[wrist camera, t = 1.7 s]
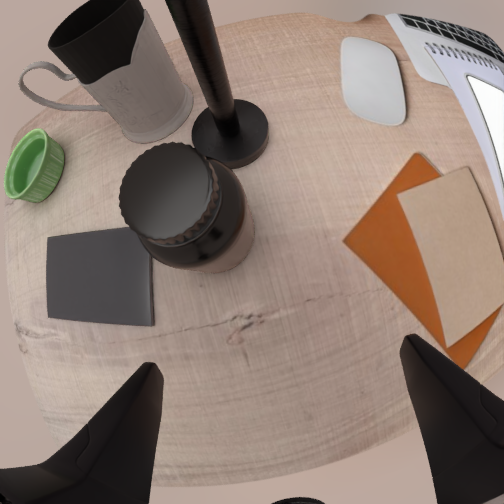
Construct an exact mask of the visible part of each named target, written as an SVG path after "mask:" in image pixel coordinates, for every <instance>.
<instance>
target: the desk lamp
mask: <svg viewBox="0 0 504 504" xmlns="http://www.w3.org/2000/svg"><path fill="white" fill-rule="evenodd" d="M165 1H166V4H167V6H168V9H169V11H170V13H171V16H172V18H173V21H174V23H175V25H176V28H177V30H178V32H179V35H180V37H181V40H182V42H183V45H184V47H185V50H186V52H187V55H188V57H189V59H190V62H191V64H192V67H193V69H194V72H195V74H196V77H197V79H198V82H199V84H200V87H201V89H202V92H203V94H204V97H205V99H206V102H207V104H208V108H206V109H205V110H204V111H203V112H202V113H201V114H200V115H199V116H198V117H197V119H196V121H195V122H194V125H193V128H192V141H193V144H194V147H195V148H196V149H198V150H199V151H200V153H202V154H204V155H205V156H208V157H212V158H214V159H217V160H219V161H220V162H222V163H224V164H225V165H226V166H228V167H229V168H230V169H234V168H239V167H243V166H245V165H248V164H250V163H251V162H253V161H254V160H256V159H257V158H258V157H259V156H260V155H261V154H262V153H263V151H264V150H265V148H266V146H267V143H268V139H269V130H268V122H267V118H266V116H265V114H264V113H263V111H262V110H261V109H260V108H259V107H257V106H256V105H254V104H253V103H251V102H248V101H245V100H239V99H233V96H232V92H231V88H230V84H229V80H228V76H227V73H226V69H225V65H224V61H223V57H222V53H221V50H220V46H219V42H218V38H217V35H216V31H215V27H214V24H213V20H212V16H211V13H210V9H209V5H208V2H207V0H165Z"/></svg>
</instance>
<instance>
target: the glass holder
mask: <svg viewBox="0 0 504 504" xmlns="http://www.w3.org/2000/svg"><path fill="white" fill-rule="evenodd" d="M48 47H49V49H50V50H51V51H52V52H53V53H54V54H55V55H56V56H57V57H58V58H59V59H60V60H61V61H62V62H63V63H64V64H65V65H66V66H67V67H68V69H69V70H70V71H72V73H73V74H65V73H63V72H62V71H61V70H60V69H59V68H58V67H56V66H55V65H53V64H51V63H49V62H42V61H41V62H35V63H33V64H30V65H29V66H28V67H27V68H25V69H24V71H23V72H22V74H21V76H20V79H19V87H20V90H21V91H22V92H23V93H24V94H25V95H26V96H27V97H29V98H30V99H32V100H33V101H35V102H37V103H39V104H41V105H43V106H47V107H50V108H53V109H58V110H63V111H103V112H108V113H109V114H110V115H111V116H112V117H113V118H114V119H115V120H116V121H117V122H118V123H119V124H120V125H121V129H122V132H123V134H124V135H125V137H126V138H127V139H129V140H131V141H132V142H136V143H151V142H155V141H158V140H160V139H163V138H165V137H166V136H168V135H170V134H171V133H173V132H174V131H175V130H177V129H178V128H179V127H180V126H181V125H182V124H183V123H184V121H185V120H186V119H187V117H188V116H189V114H190V112H191V109H192V106H193V95H192V92H191V90H190V88H189V87H188V86H187V85H186V84H184V83H182V81H181V79H180V77H179V75H178V73H177V71H176V69H175V66H174V64H173V62H172V60H171V58H170V56H169V54H168V52H167V50H166V48H165V46H164V44H163V42H162V40H161V38H160V36H159V34H158V32H157V30H156V28H155V26H154V24H153V22H152V20H151V18H150V16H149V14H148V12H147V10H146V9H143V7H142V5H141V3H140V1H139V0H89V1H88V2H86V3H85V4H83V5H82V6H80V7H79V8H78V9H76V10H75V11H74V12H73V13H71V14H70V15H69V16H68V17H67V18H66V19H65V20H64V21H63V22H62V23H61V24H60V25H59V26H58V27H57V29H56V30H55V31H54V33H53V34H52V36H51V37H50V40H49V42H48ZM36 68H44V69H47V70H49V71H51V72H53V73H55V75H56V76H58V77H59V78H60V79H62V80H65V81H69V80H72V79H75V78H77V79H78V82H79V83H80V84H81V85H82V86H83V87H84V88H85V89H86V90H87V91H88V92H89V94H90V95H91V96H92V97H93V98H94V99H95V100H96V101H97V102H98V103H99V104H100V105H69V104H61V103H57V102H53V101H49V100H46V99H44V98H42V97H40V96H38V95H36V94H35V93H33V92H32V91H30V90H29V89H28V88H27V87H26V86H25V85H24V83H23V76H24V75H25V74H26V72H28V71H30V70H32V69H36Z"/></svg>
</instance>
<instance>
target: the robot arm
mask: <svg viewBox="0 0 504 504" xmlns="http://www.w3.org/2000/svg"><path fill="white" fill-rule="evenodd" d="M400 358H401V362H402V366H403V371H404V375H405V379H406V384H407V388H408V392H409V395H410V398H411V401H412V404H413V407H414V410H415V414H416V417H417V420H418V423H419V427H420V430H421V434H422V437H423V441H424V445H425V448H426V452H427V456H428V460H429V464H430V469H431V473H432V477H433V483H434V488H435V493H436V498H437V503H438V504H504V401H503V400H502V399H500V398H499V397H497V396H496V395H495V394H493V393H492V392H491V391H489V390H488V389H487V388H486V387H484V386H483V385H482V384H480V383H479V382H478V381H477V380H475V379H474V378H473V377H472V376H470V375H469V374H468V373H467V372H465V371H464V370H463V369H462V368H460V367H459V366H458V365H456V364H455V363H454V362H452V361H451V360H450V359H449V358H447V357H446V356H445V355H443V354H442V353H441V352H439V351H438V350H437V349H436V348H434V347H433V346H432V345H430V344H429V343H428V342H426V341H425V340H424V339H422V338H421V337H420V336H418V335H417V334H410V335H406V336H405V337H404V339H403V343H402V345H401V348H400ZM163 385H164V378H163V375H162V373H161V371H160V370H159V368H158V366H157V365H156V364H155V363H153V362H145V363H143V364H142V365H141V366H140V367H139V368H138V370H137V371H136V372H135V373H134V374H133V375H132V376H131V377H130V378H129V379H128V380H127V381H126V382H125V383H124V384H123V385H122V387H121V388H120V389H119V390H118V391H117V392H116V393H115V394H114V395H113V396H112V397H111V398H110V399H109V400H108V401H107V403H106V404H105V405H104V406H103V407H102V408H101V409H100V410H99V411H98V412H97V413H96V414H95V415H94V416H93V417H92V419H91V420H90V421H89V422H88V424H86V425H85V426H84V427H83V428H82V429H81V430H80V431H79V432H78V433H77V434H76V435H75V436H74V437H73V438H72V439H71V440H70V441H69V442H68V443H67V444H65V445H64V446H63V447H62V448H61V449H60V450H58V451H57V452H56V453H55V454H54V455H52V456H51V457H50V458H49V459H48V460H46V461H45V462H43V463H40V464H37V465H32V466H25V467H16V468H7V469H0V504H149V498H150V489H151V481H152V474H153V466H154V459H155V453H156V446H157V440H158V434H159V428H160V422H161V415H162V400H163ZM282 504H292V503H288V502H284V503H282Z"/></svg>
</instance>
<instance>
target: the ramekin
mask: <svg viewBox="0 0 504 504" xmlns="http://www.w3.org/2000/svg"><path fill="white" fill-rule="evenodd" d="M63 166H64V152H63V150H62V148H61V146H60V145H59V144H58V143H56V142H55V141H54V140H53V139H52V138H50V137H49V136H48V134H47V133H46V132H45V131H44V130H43V129H40V128H37V129H34V130H32V131H30V132H29V133H27V134H26V135H25V136H24V137H23V138H22V139H21V140H20V142H19V143H18V144H17V146H16V147H15V149H14V151H13V152H12V154H11V156H10V159H9V161H8V164H7V167H6V171H5V177H4V189H5V193H6V195H7V196H8V197H9V198H11V199H21V200H25V201H29V202H34V203H37V202H40V201H42V200H44V199H45V198H46V197H48V196H49V195H50V193H51V192H52V191H53V190H54V188H55V186H56V185H57V183H58V181H59V179H60V176H61V174H62V170H63Z"/></svg>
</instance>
